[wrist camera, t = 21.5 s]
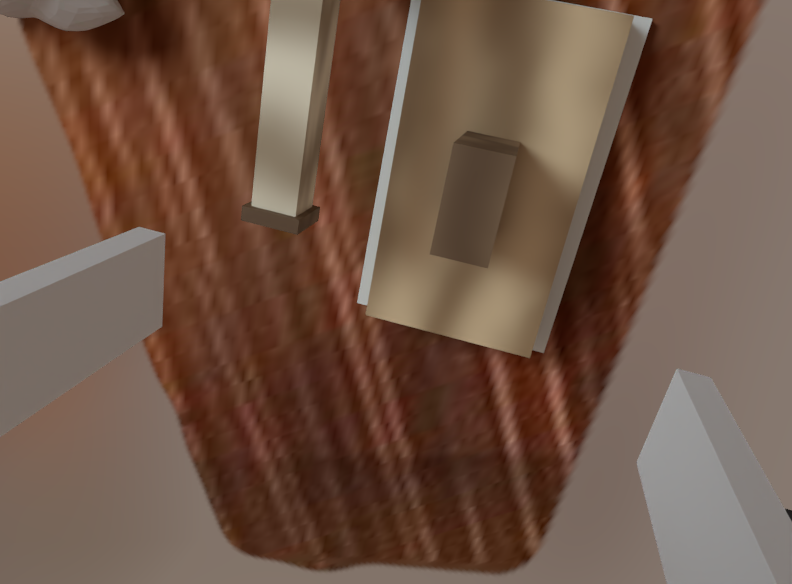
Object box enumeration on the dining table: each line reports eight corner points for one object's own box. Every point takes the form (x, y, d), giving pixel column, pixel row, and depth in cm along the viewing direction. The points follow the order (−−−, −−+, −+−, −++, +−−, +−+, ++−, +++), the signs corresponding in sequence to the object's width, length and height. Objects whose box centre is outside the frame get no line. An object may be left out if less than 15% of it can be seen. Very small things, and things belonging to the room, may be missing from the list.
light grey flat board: (417, -25, 36) (415, -26, 35) (650, 19, 34) (652, 18, 34) (359, 299, 44) (357, 302, 44) (543, 349, 43) (543, 353, 42)
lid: (374, 302, 44) (336, 355, 35) (432, -16, 35) (400, -42, 27) (530, 342, 42) (528, 408, 34) (627, 19, 34) (656, 3, 26)
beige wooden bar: (316, -269, 26) (288, -312, 23) (386, -260, 25) (366, -303, 23) (266, 207, 34) (240, 220, 31) (318, 220, 34) (297, 234, 31)
